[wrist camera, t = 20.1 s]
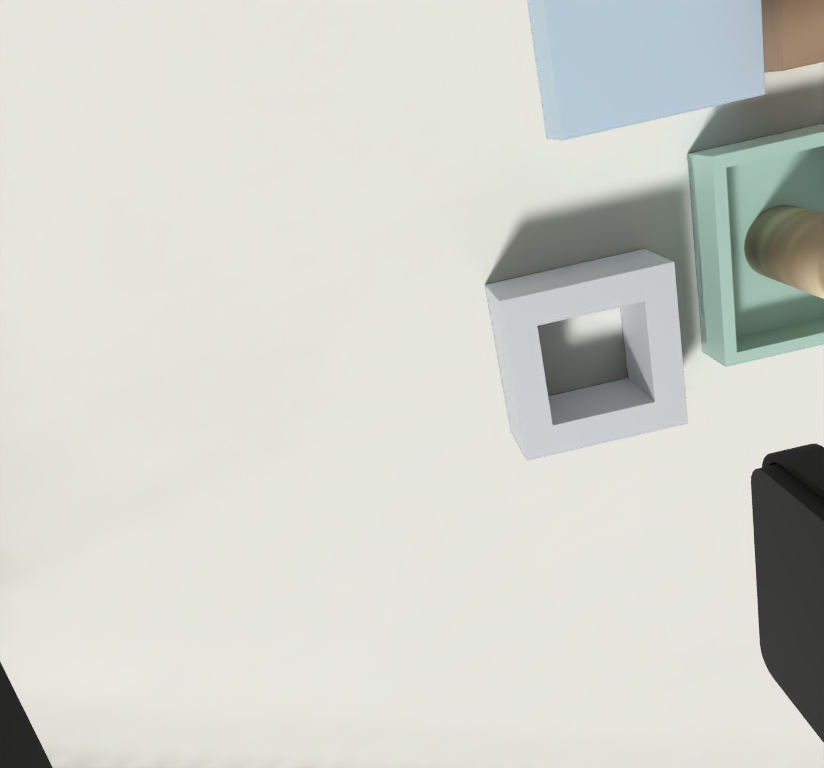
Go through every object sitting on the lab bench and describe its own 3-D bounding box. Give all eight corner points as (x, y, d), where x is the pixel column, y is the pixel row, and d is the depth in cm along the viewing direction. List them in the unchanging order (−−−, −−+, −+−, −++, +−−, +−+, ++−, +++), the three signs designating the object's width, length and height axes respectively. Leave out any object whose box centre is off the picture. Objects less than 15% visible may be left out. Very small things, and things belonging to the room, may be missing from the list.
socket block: (484, 284, 37) (499, 301, 34) (644, 248, 37) (674, 261, 34) (510, 432, 40) (526, 460, 36) (658, 397, 40) (688, 423, 37)
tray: (687, 153, 36) (712, 156, 33) (850, 117, 36) (886, 117, 34) (702, 351, 39) (725, 366, 37) (851, 317, 39) (884, 330, 37)
